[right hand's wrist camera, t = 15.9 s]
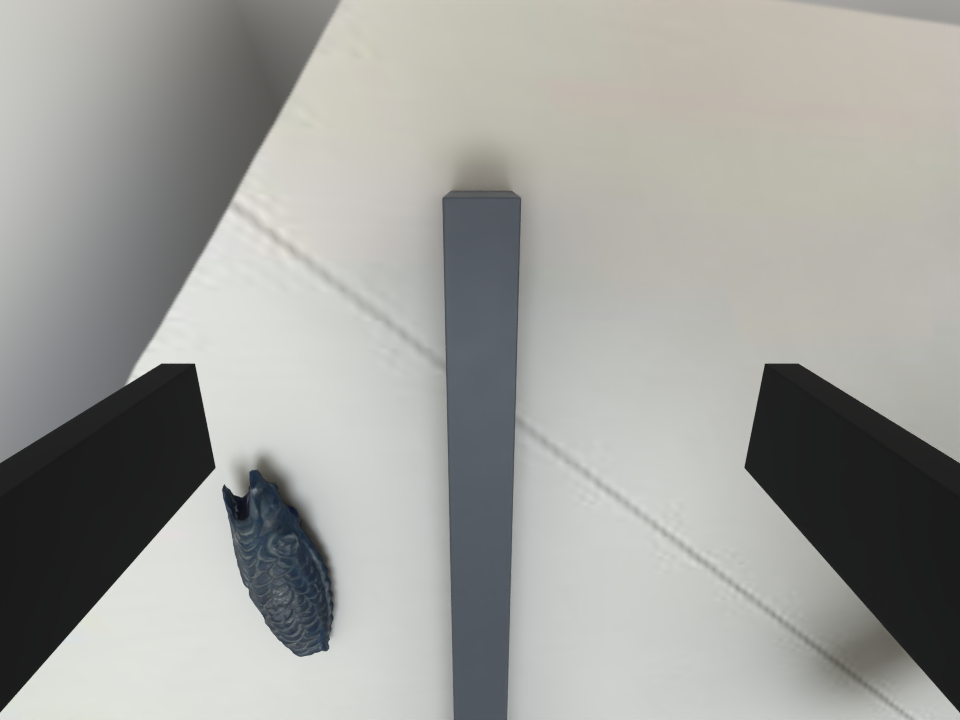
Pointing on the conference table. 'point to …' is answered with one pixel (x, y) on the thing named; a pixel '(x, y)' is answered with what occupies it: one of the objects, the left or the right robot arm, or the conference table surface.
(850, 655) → the conference table surface
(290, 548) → the fish model
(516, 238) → the bar
